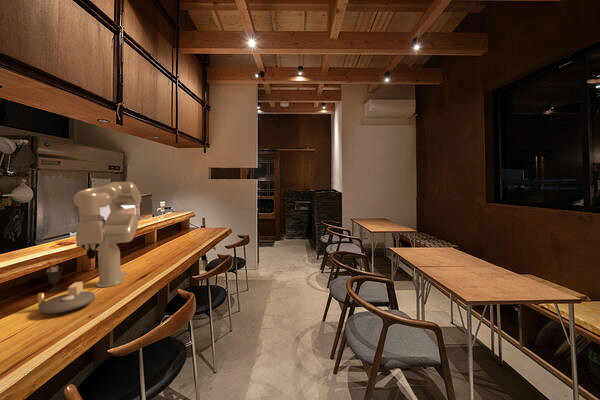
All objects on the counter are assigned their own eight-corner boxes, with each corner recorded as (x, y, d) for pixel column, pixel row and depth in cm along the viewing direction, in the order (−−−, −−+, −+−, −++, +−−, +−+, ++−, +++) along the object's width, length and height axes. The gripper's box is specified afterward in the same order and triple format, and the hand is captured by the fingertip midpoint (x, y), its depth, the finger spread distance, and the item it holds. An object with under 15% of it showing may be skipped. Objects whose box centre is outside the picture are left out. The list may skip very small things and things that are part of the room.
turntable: (74, 292, 123) (74, 281, 123) (108, 294, 121) (107, 282, 121) (26, 312, 104) (25, 298, 103) (65, 314, 101) (64, 301, 101)
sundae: (42, 291, 129) (41, 262, 128) (59, 287, 135) (57, 259, 134) (50, 293, 126) (49, 263, 126) (67, 288, 133) (65, 260, 132)
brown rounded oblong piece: (56, 302, 117) (55, 287, 117) (85, 304, 115) (84, 288, 115) (36, 310, 109) (35, 294, 109) (67, 312, 107) (66, 296, 107)
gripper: (111, 217, 125) (113, 254, 126) (73, 219, 119) (74, 258, 120) (107, 219, 118) (108, 258, 119) (65, 220, 112) (67, 262, 113)
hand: (91, 258), depth 119 cm, fingers closed
